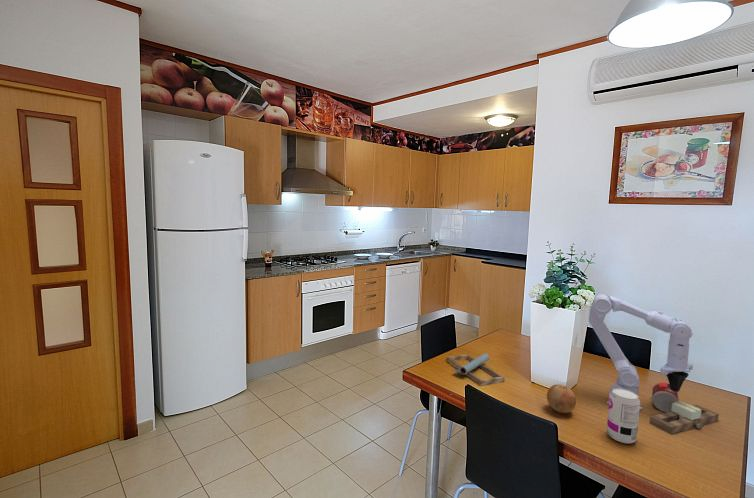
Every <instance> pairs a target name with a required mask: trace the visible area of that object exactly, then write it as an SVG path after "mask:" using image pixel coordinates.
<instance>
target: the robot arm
mask: <svg viewBox="0 0 754 498" xmlns="http://www.w3.org/2000/svg"><path fill="white" fill-rule="evenodd" d="M594 296H595V298H594V297H593V298H594V300H593V299H592V300H593V303H592V305H591V304H590V305H591V306H590V305H589V313H588V314H589V315H588V321H589V325H591V328H592V330H593V331H594V333H595V334H596V335H597V337H598V339H599V341H600V343H601V344H602V346H603V348H604V349H605V351H606V353H607V355H608V357H610V359H611V361H612V363H613V364H614V367H615V369H616V371H617V373H618V376H619V377H617V378H616V381H615V384H613V385H612V386H611V387H609V394H608V399H609V398H610V393H611V392H612V390H613V389H625V390H629V391H631V392H633V393H635V394H637V395H638V396H639V390H640V379H641V378H640V376H639V374H638V369H637V367H635V365H633V363H631V362H630V361H629V359H628V358H627V357H626V356H625V354H624V352H623V351H622V349H621V347H620V346H619V344H618V343H617V341H616V340H615V339H616V338H614V336H613V334H612V332H611V331H610V329H609V328H608V326H607V325H606V324H607V323H605V321H604V320H605V318H606V316H607V314H610V312H611V311H612V312H613V313H614V312H615V313H616V312H621V311H622V312H624V313H627V314H629V315H632V316H634V317H637V318H639V319H642V320H644V322H645V323H646V325H647V326H651V327H652V328H655V329H657V330H659V331H662V332H664V333H666V334H667V333H668V334H669V339H668V345H667V346H668V348H667V349H668V350H667V356H666V358H667V360H666V364H665V365H663V366H662V367H660V369H659V371H660V372H659V373H660V374H663V375H664V376H666V377H667V381H668V384H670V389H671V390H673V391H675V392H680V390H681V388H682V386H683V384H684V381H685V380H686V379H687V378H688V377H689V373H691V371H692V370H693V367H694V364H692V363H689V350H690V339H691V338H692V337H693V335H694V334H693V331H692V329H691V327H690V326H689V325H688V323H686V322H684V321H683V320H682V319H678V318H676V317H671V316H669V315H666V314H664V312H662V311H660V310H658V311H657V310H651V311H648V310H645V309H643V308H641V307H638V306H636V305H634V304H631V303H629V302H628V301H625V300H623V299H621V298H619V297H618V298H617V297H615V296H613V295H610V296H609V295H608V294H606V293H604V292H603V293H602V292H601V293H597V294H595V295H594ZM606 404H608V405H609V400H607V401H606ZM640 410H643V407H642V406H640Z"/></svg>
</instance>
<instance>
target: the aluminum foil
mask: <svg viewBox="0 0 754 498" xmlns="http://www.w3.org/2000/svg"><path fill="white" fill-rule="evenodd" d="M489 360H490V356H489V354H488V353H483V354H481V355H479V356H477V357H476V358H474V360H473V361H471V362H470V361H469V362H468V363H466V364H464V365H461V366H462V367H461V368H459V369H454V370H453V372H454V373H457V374H462V375H465V374H467V373H468V372H471V371H473V370H475V369H477V368H479V367H478V366H479V365H481V364H484V363H486V362H487V361H489ZM465 376H466V375H465Z"/></svg>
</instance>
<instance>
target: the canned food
mask: <svg viewBox="0 0 754 498" xmlns="http://www.w3.org/2000/svg"><path fill="white" fill-rule="evenodd" d="M651 393H652V394H651V400H652V401H651V402H652V404H653V405H654V407H655V408H656V409H658V410H659V411H661V412H663V413H666V412H669V411H670V410H671V409H672V403H675V402H676V401H678V402H679V401H680V400H679V394H678V392H675V391H673V390H671V389H670V384H669V383H667V382H658V383H656V384H654V385H653V387H652V391H651Z"/></svg>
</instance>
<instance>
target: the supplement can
mask: <svg viewBox="0 0 754 498" xmlns="http://www.w3.org/2000/svg"><path fill="white" fill-rule="evenodd" d="M608 401H609V404H608V411H607V423H606V434H607V435H608V436H609V437H611V439H613V440H615V441H617V442H620V443H622V444H628V445H629V444H633V443H636V442H637V439H638V430H639V420H640V419H639V417H640V410H641V409H640V407H641V401H640V399H639V394H638V395H637V394H635V393H633V392H631V391H629V390H625V389H613V390H612V392H611V393H610V398H609V397H608Z"/></svg>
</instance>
